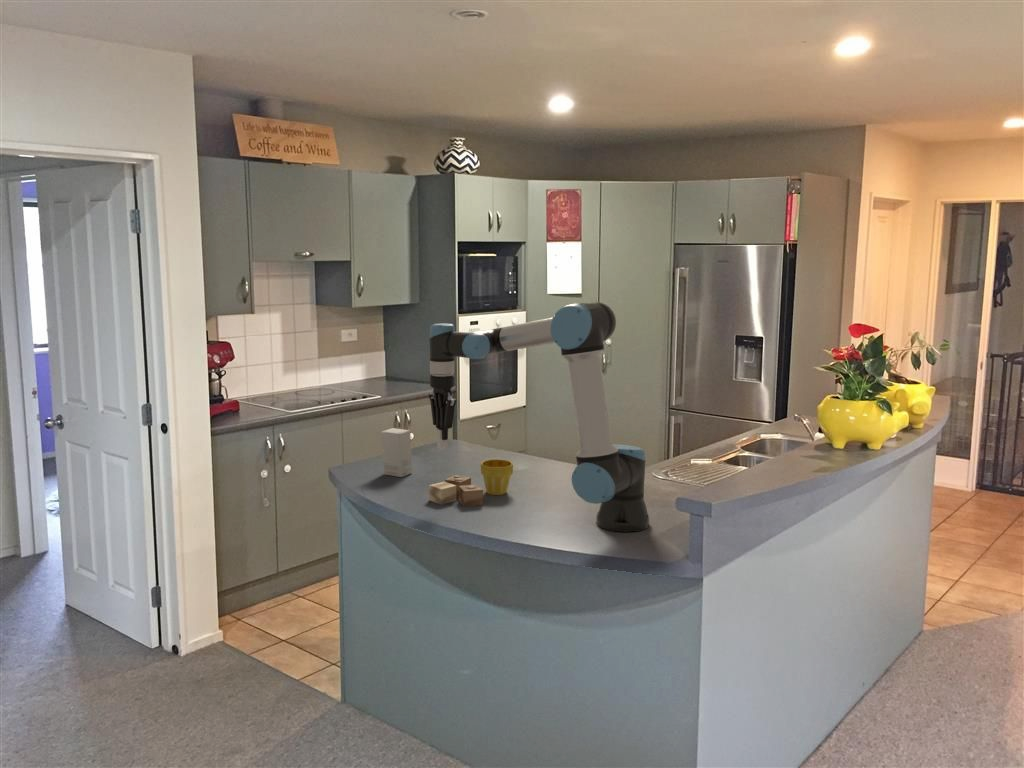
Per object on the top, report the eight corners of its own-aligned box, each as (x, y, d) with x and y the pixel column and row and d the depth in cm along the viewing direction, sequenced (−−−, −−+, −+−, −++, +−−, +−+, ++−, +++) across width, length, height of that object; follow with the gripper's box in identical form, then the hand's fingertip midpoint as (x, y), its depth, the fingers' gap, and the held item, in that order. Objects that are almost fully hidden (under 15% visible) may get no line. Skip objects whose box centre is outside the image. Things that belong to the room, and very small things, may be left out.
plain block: (456, 500, 269) (456, 485, 268) (441, 504, 265) (441, 489, 264) (443, 496, 273) (443, 481, 273) (429, 500, 269) (429, 485, 268)
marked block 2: (483, 505, 265) (483, 488, 264) (464, 507, 263) (464, 490, 262) (477, 499, 271) (477, 483, 270) (458, 501, 269) (458, 485, 268)
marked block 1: (470, 492, 278) (470, 477, 277) (460, 497, 273) (460, 481, 272) (455, 489, 281) (455, 474, 280) (445, 494, 276) (445, 478, 275)
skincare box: (412, 473, 299) (412, 430, 297) (400, 478, 294) (399, 433, 291) (393, 470, 304) (393, 427, 301) (381, 474, 298) (380, 430, 296)
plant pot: (509, 498, 272) (509, 468, 271) (477, 495, 274) (477, 466, 273) (515, 488, 282) (515, 459, 281) (484, 486, 284) (485, 458, 283)
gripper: (464, 376, 259) (464, 452, 263) (441, 370, 270) (442, 443, 274) (442, 378, 255) (442, 455, 259) (420, 372, 266) (421, 446, 270)
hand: (442, 449), depth 266 cm, fingers closed
